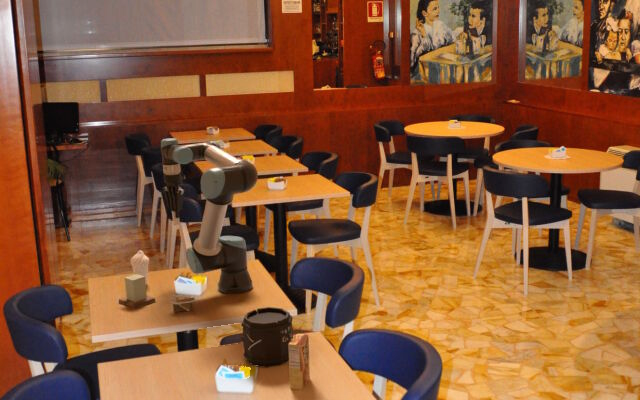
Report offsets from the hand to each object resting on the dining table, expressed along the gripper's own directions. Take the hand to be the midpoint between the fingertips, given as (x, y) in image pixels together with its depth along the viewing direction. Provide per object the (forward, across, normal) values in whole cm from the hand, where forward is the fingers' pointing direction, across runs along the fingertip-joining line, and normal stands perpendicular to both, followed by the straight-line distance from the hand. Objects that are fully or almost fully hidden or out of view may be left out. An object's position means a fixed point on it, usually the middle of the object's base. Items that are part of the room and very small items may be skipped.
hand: (176, 224), depth 358 cm
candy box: (+27, +116, -47) cm, 128 cm away
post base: (+26, +7, -30) cm, 41 cm away
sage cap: (+25, +7, -30) cm, 40 cm away
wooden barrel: (+27, +93, -38) cm, 104 cm away
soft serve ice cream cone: (+26, -10, -14) cm, 32 cm away
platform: (+27, +33, -26) cm, 50 cm away
